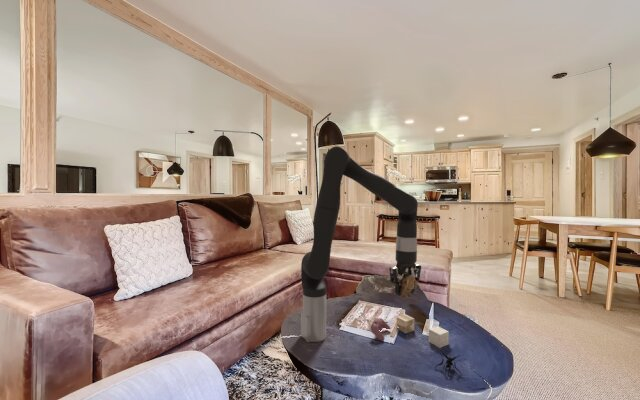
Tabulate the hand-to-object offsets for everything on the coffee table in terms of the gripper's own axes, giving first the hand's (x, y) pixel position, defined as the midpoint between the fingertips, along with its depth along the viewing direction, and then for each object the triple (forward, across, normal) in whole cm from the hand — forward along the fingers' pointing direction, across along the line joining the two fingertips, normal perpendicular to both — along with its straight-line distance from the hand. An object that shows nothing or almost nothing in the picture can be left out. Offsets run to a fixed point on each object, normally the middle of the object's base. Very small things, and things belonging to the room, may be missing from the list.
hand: (404, 293), depth 107 cm
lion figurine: (+1, +1, +1) cm, 2 cm away
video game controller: (+20, -2, +10) cm, 23 cm away
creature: (+20, +2, -18) cm, 27 cm away
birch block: (+20, +10, +9) cm, 24 cm away
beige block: (+19, +13, -5) cm, 24 cm away
